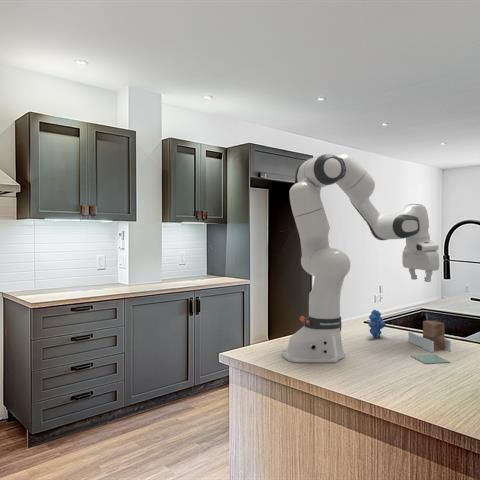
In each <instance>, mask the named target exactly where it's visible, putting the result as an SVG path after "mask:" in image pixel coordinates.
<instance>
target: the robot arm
mask: <svg viewBox="0 0 480 480" xmlns="http://www.w3.org/2000/svg"><path fill="white" fill-rule="evenodd" d="M375 183H376V182H375V180H374V178H373V176H372V175H371V174H370V173H369V172H368V170H367V169H365V167H364V166H363V165H362V164H361V163H360V162H359V161H357V160H356V159H355V158H353V157H352V156H351V155H349V154H346V153H341V154H338V155H334V154H330V153H328V154H327V153H326V154H321V155H320V156H319V155H318V156H314V157H311V158H309V159H307V160H305V161H303V162H302V163H300V164H299V165H298V166H297V168H296V170H295V174H294V184H292V185H291V187H290V189H289V203H290V206H291V212H292V216H293V218H294V221H295V225H296V228H297V232H298V235H299V239H300V247H301V257H300V264H301V267H302V268H303V270H304V271H305V272H306V273H307V274H308V275H311V276H313V277H314V280H313V285H312V289H311V291H310V292H309V294H308V315H307V316H306V317H305V316H303V315H301V316H300V317H299V320H300V322H302V323H303V326H302V327H301V328H300V329H298V330H297V331H296V332H295V333H293V334H292V335H291V336H290V337H289V340H288V344H287V348H284V349H282V351H281V356H282V357H283V358H284V359H285V360H286V361H289V362H292V363H338V361H339V360H341V359H344V358H345V352H344V348H343V341H342V336H341V335H342V328H343V327H342V317H341V295H342V293H341V292H342V289H343V284H344V280H345V278H346V276H348V274H349V272H350V270H351V259H350V258H349V256H348V255H347V254H346V253H345V252H344V251H341V250H339V249H337V248H334V247H333V248H331V247H330V243H329V242H330V241H329V232H330V229H331V228H330V227H331V226H330V225H329V224H330V223H329V221H328V218H327V213H326V210H325V207H324V203H323V201H322V199H321V189H322V188H325V187H327V186H330V185H334V184H336V185H337V186H338V188H340V190H342V191H343V192H344V194H345V195H346V196H347V197H348V198H349V201H350V203H351V204H352V206H353V207H354V208H355V209H354V210H356V211H357V213H358V214H359V215H360V217H362V219H363V220H364V221H365V223H366V224H367V226H368V228H369V230H370V233H371V235H372V236H373V237H374V239H376V240H378V241H387V240H403V239H405V246H404V248H403V250H402V255H401V256H402V260H401V261H402V267H403V268H406V269H408V272H409V275H410V279H411V280H413V281H414V280H415V281H416V280H418V275H417V273H416V270H420V271H421V270H422V271H425V272H424V273H425V276H424V282H425V283H431V282H432V276H433V272H434V271H438V270H439V268H440V255H439V251H438V250H440V249H439V243H436V242H434V241H432V240H431V235H430V233H429V228H430V222H429V221H430V219H429V213H428V210H427V208H426V206H425V205H423V204H420V203H419V204H418V203H416V204H415V203H411V204H405V206H404V208H402V209H401V210H400V211H398V212H396V213H395V214H382V213H381V212H379V211H378V209H377V208H376V207H375V205H374V204H373V203H372V201H371V200H370V197H371V196H372V194H373V193H374V190H375V185H376V184H375Z"/></svg>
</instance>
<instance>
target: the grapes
mask: <svg viewBox="0 0 480 480" xmlns="http://www.w3.org/2000/svg"><path fill="white" fill-rule="evenodd" d="M381 315H382V313H381V312H380V311H379V310H377V309H373V310H372V311H371V312H370V315H369V316H368V318H369V320H370V321H369V322H368V326H369V327H370V329H369V330H368V331H369V333H370V334H371V335H372V337H373V338H376V339H377V338H378V337H379V336H380V335H382V331H381V330H382V329H383V328H385V327H386V326H387V324H386V323H385V321H384V320H383V319H384V318H382V316H381Z"/></svg>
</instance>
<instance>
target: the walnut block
mask: <svg viewBox="0 0 480 480" xmlns="http://www.w3.org/2000/svg"><path fill="white" fill-rule="evenodd" d="M422 337H424V338H426V339H429V340H431V341H434V352H436V351H445V349H444V338H445V323H443V322H440V321H438V320H423V321H422Z"/></svg>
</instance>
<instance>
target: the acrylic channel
mask: <svg viewBox="0 0 480 480" xmlns="http://www.w3.org/2000/svg"><path fill="white" fill-rule="evenodd" d="M407 333H408V335H407V336H408V337H407V338H408V339H407V340H408V341H409V342H408V343H410V342H411V343H410V344H413V345H415V346H417V347H419V346H420V347H419V348H421V347H422V348H421V349H424V350H425V351H428V352H430V353H434V352H435V351H434V341H431V340H429V339H426V338H424V337H423V336H421V335H418V334H416V333H414V332H412V331H408V332H407ZM444 351H448V352H452V339H451V340H450V339H447V338H445V337H444Z"/></svg>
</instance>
